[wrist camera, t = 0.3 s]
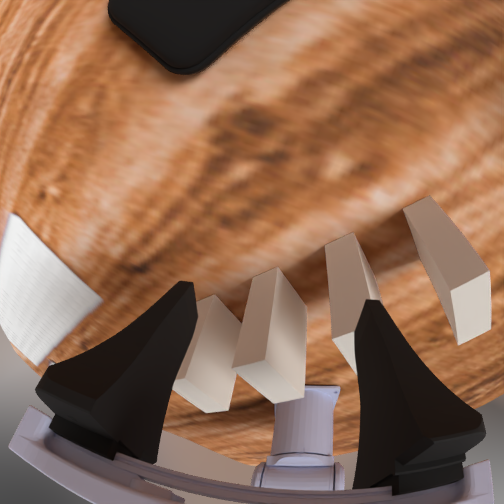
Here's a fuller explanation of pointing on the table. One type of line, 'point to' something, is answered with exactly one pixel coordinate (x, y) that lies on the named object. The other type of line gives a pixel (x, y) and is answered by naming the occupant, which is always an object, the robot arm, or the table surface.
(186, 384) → the domino
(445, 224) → the domino
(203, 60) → the carrying case or bag
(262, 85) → the table surface
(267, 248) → the table surface
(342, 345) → the domino
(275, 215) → the table surface
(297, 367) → the domino
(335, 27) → the table surface
